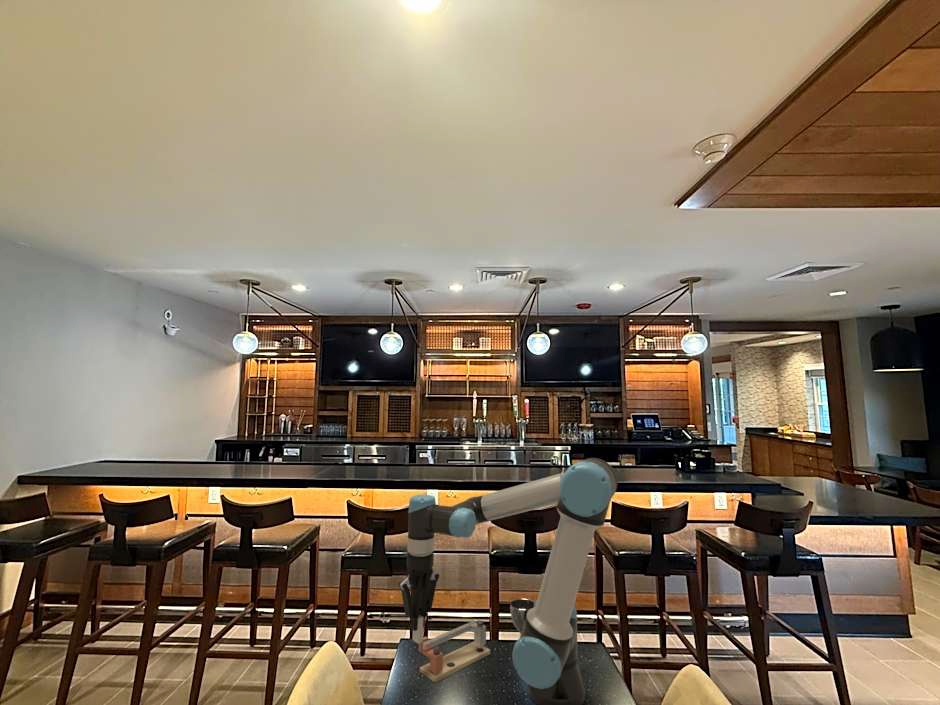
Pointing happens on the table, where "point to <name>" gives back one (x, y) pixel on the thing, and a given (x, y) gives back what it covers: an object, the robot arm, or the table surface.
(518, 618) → the wine glass
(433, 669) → the slide leg
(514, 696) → the table surface
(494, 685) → the table surface
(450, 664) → the bolt plate
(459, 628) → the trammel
